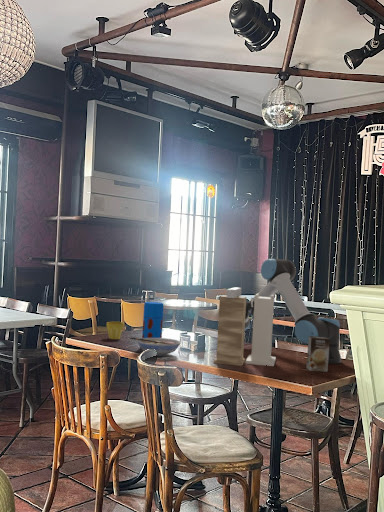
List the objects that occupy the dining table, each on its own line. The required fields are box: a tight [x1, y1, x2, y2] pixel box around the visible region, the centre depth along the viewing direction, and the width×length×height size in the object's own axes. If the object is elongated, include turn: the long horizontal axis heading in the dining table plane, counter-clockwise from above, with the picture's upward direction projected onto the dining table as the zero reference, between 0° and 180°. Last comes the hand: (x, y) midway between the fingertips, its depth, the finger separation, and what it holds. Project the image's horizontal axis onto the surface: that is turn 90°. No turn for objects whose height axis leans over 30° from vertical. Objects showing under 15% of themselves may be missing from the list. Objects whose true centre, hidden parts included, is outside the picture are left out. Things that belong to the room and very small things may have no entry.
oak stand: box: [213, 294, 247, 367], centre depth 285 cm, size 14×14×33 cm
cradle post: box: [245, 292, 277, 367], centre depth 292 cm, size 20×14×34 cm
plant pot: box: [106, 321, 125, 340], centre depth 342 cm, size 10×10×10 cm
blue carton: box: [141, 301, 164, 338], centre depth 317 cm, size 11×11×25 cm
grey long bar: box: [226, 286, 242, 298], centre depth 288 cm, size 28×4×4 cm, turn 169°
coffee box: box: [305, 336, 330, 373], centre depth 277 cm, size 9×6×16 cm
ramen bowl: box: [130, 337, 181, 357], centre depth 294 cm, size 25×23×8 cm
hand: (239, 298), depth 312 cm, fingers open, 13 cm apart
